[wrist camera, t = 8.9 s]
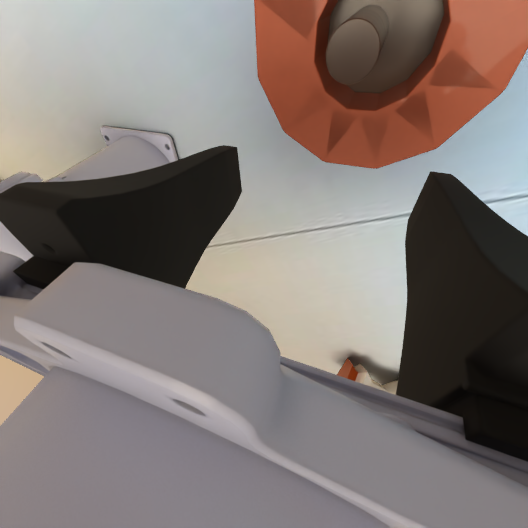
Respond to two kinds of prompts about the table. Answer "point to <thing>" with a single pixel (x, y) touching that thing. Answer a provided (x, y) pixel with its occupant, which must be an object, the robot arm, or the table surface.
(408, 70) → the brown peg stand
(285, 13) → the ring
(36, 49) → the table surface
